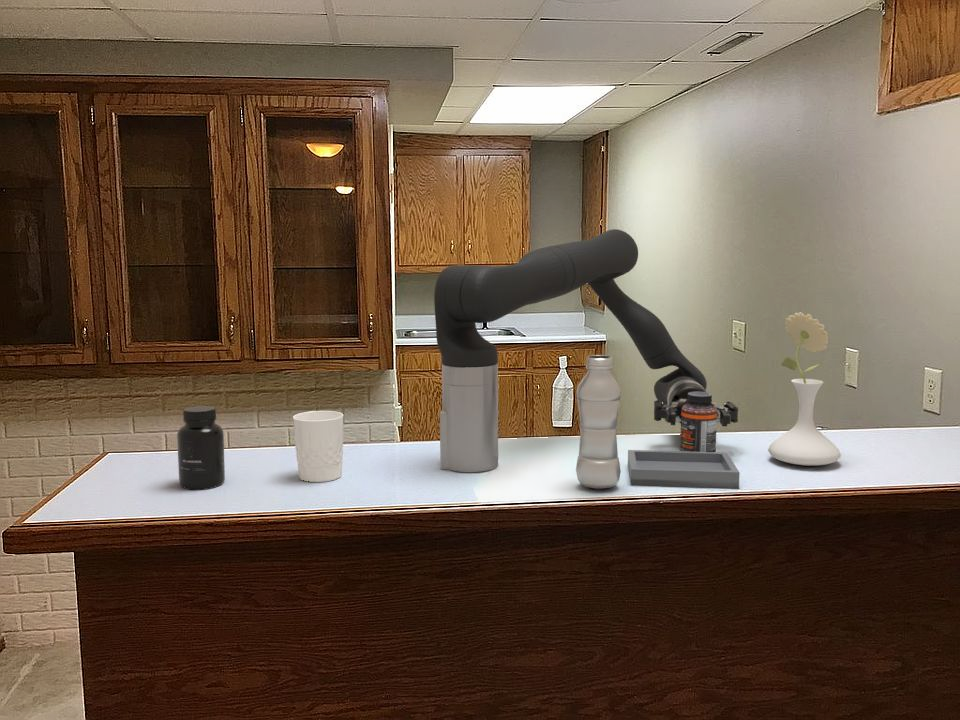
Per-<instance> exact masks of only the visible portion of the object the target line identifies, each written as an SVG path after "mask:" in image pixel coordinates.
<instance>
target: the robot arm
mask: <svg viewBox="0 0 960 720" xmlns="http://www.w3.org/2000/svg"><path fill="white" fill-rule="evenodd" d="M638 258H639V248H638V245H637V243H636V241H635V239H634V237H632V236H631V235H630V234H629V233H627V231H624V230H622V229H616V228H615V229H608V230H606V231H604V232H602V233H600V234H598V235H595V236H593V237H592V238H590V239H589V238H588V239H585V240H579V241H572V242H566V243H565V242H564V243H560V244H555V245H549V246H546V247H545V246H544V247H541V248H537V249H533V250H531V251H529V252H526V253H525V254H524V255H522V257H521V258H520V259H519V260H518V262H517V263H514V264H508V265H477V264H475V265H474V264H473V265H470V264H469V265H468V264H466V265H465V264H464V265H463V264H461V265H460V264H457V265H456V264H454V265H450V266H446V267H445V268H444V269H442V271H441V272H440V273H439V274H438V276H437V279H436V282H435V285H434V294H433V296H434V298H433V299H434V300H433V301H434V302H433V303H434V317H435V334H436V336H435V337H436V344H437V348H438V350H439V353H440V357H441V383H442V384H441V392H442V393H441V397H442V401H441V402H442V405H441V406H442V407H441V408H442V409H441V410H440V412H439V437H440V438H439V445H440V446H439V448H440V449H439V450H440V451H439V453H440V455H439V456H440V461H439V462H440V469H442V470H443V469H444V470H450V471H454V472H461V473H477V472H485V471H486V472H487V471H491V470H493V469H496V468H497V467H498V466H499V368H498V367H499V364H498V363H499V361H498V360H499V357H498V356H499V355H498V349H497V347H496V345H494V344H493V343H491V342H490V341H488V340H487V339H486V338H484V337H483V336H482V335H481V334H480V332H479V331H478V329H477V326H476V325H477V324H486V323H492V322H495V321H497V320H499V319H501V318H503V317H505V316H508V315H509V314H511V313H512V312H513V313H514V312H515V311H517V310H518V309H521V308H523V307H526V306H528V305H532V304H537V303H542V302H545V301H549V300H552V299H556V298H558V297H562V296H564V295H567V294H569V293H572V292H573V291H575V290H577V289H580V288H582V287H584V286H585V285H588V286H589V287H590V289H592V290H593V292H594V293H595V294H596V296H597V297H598V298H599V299H600V300H601V303H603V304H604V305H605V307H606V308H607V309H608V310H609V311H610V312H611V313H612V315H613V316H614V317H615V319H617V321H618V322H619V323H620V325H622V327H623V328H624V330H625V332H627V334H628V335H629V337H630V339H631V340H632V342H633V343H634V345H635V347H636V349H637V350H638V352H639V354H640V355H641V357H642V359H643V360H644V362H645V364H646V365H647V366H648V367H649V369H650V370H659V369H664V368H667V367H676V368H677V369H675V370H673V371H672V372H670V373H667V374H666V375H664V376H662V377H660V378H659V379H658V380H657V381H655V383H654V386H653V392H654V396H655V398H656V400H654V401H653V417H654V418H653V420H654V421H656V422H661V421H662V419H664V421H665V422H666V423H670V426H676V423H679V424H681V410H682V407H683V406H684V405H686V403H687V402H688V400H687V398H688V393H689V392H707V391H706V390H707V385H708V383H707V379H706V376H705V375H704V374H703V372H702V371H701V370H700V369H699V368H698V367H696V365H694V364H693V363H692V362H691V361H690V360H689V359H688V358H687V357H686V356H685V355H684V354H683V352H682V351H680V349H679V347H678V346H677V345H676V343H675V341H674V340H673V338H672V335H670V333H669V331H668V329H667V328H666V326H665V324H664V323H663V321H662V319H660V318H659V317H658V316H657V315H656V314H654V312H652V311H651V310H649V309H647V308H646V307H645V306H643V305H641V304H640V303H638V302H637V301H635V300H634V299H633V298H631V297H630V296H628V295H627V294H626V293H625V292H624V291H623V290H622V289H621V288H620V286H619V285H618V284H617V283H616V281H615V279H617V278H620V277H621V276H624V275H625V274H628V273H629V272H630V271H631V270H633V269H634V268H635V266H636V265H637V262H638V260H639V259H638ZM711 403H712V405H713V406H714V407H715V408H716V409H717V423H720V425H721V426H722V427H728V425H730V424H732V423H734V424H735V423H738V422H739V419H738V418H739V414H738V413H739V407H738V406H736V405H735V403H733V402H731V401H725V403H723V405H720V404H719V403H718V402H714V401H713V400H712V401H711Z"/></svg>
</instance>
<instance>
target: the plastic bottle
mask: <svg viewBox="0 0 960 720" xmlns="http://www.w3.org/2000/svg"><path fill="white" fill-rule="evenodd" d="M612 361H613V357H612V356H611V355H603V354H591V355H587V356H586V364H585V369H586V370H587V372H586V374H585V375H584V376H583V378H582V379H580V382H579V384H578V385H577V388H576V398H577V399H576V401H577V407H578V415H579V417H578V418H579V427H580V428H579V433H580V435H579V436H580V437H579V447H578V448H579V449H578V456H577V460H576V466H575V467H576V468H575V472H576V473H575V474H576V479H577V481H578V482H579V484H580V485H581V486H583V487H586V488H591V489H610V488H613V487H615V486H616V485H617V484H618V482H620V477H621V472H622V471H621V464H620V459H619V456H618V455H619V452H618V441H617V439H618V438H617V427H618V414H619V410H620V409H619V408H620V402H621V400H620V399H621V396H622V395H621V394H622V393H621V388H620V386H619V384H618V382H617V381H616V378H615V377H614V375H612V373H611V370H613V362H612Z"/></svg>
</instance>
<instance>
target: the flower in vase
mask: <svg viewBox="0 0 960 720" xmlns="http://www.w3.org/2000/svg"><path fill="white" fill-rule="evenodd" d="M785 321H786V322H785V323H784V325H785V328H784V330H785V331H786V333H788V337H789V338H790V339H792V341H793V343H794V344H795V345H797V347H796V352H795V359H793V358H791V357H790V356H786V357H785V358H784V359H783V361H782V362H781V364H780V366H782V367H786V368H788V369H790V370H792V371H796V370H797V369H798V371H799V373H800V375H801V378H794V379H791V381H790V382H791V383H792V385H793V386H794V388H795V390H796V395H797V398H798V417H797V421H796V422H795V425H793V427H792V428H791V429H789V430H788V431H786V432H785V433H782V434H781V435H780V436H779V437H777V438H776V439H775V440H774V441H772V442H771V443H770V444H769V446H768V448H767V452H768V454H769V455H770V456H771V457H772V458H775V459H776V460H779V461H781V462H784V463H787V464H792V465H799V466H827V465H830V464H832V463H836V462H837V461H838V460H839V459H840V458H841V457H842V455H841V452H840V450H839V448H838V447H837V446H836V444H834V443H833V442H832V441H831V440H830V439H829V438H828V437H827V436H825V435H824V434H823V433H822V432H821V431H820V430H819V429H818V428H817V427H816V425H815V423H814V406H815V400H816V396H817V393H818V392H819V390H820V388H821V387H822V385H823V384H824V381H823V380H820V379H814V378H805V375H804V373H806V372H809V371H811V370H814V369H816V368H818V366H820V365H822V363H823V361H821V362H819V363H818V364H816V365H813V366H810V367H807V368H806V369H805V370H804V371H802V369H801V366H800V364H799V360H798V359H799V357H798V355H799V352H800V348H801V349H805V350H806V351H807V352H811V353H815V354H816V353H817V352H822V351H823V350H827V349H828V346H827V345H828V343H829V333H828V332H827V331H825V329H826V327H825V325H824V324H822V323H820V321H819V319H817V318H813V316H812V314H810V313H807V314H806V315H805V314H804V313H803V312H801V311H799V312H795V313H794V314H792V315H788V317H786V318H785Z"/></svg>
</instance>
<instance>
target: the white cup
mask: <svg viewBox="0 0 960 720" xmlns="http://www.w3.org/2000/svg"><path fill="white" fill-rule="evenodd" d="M344 415H345V414H343V413H342V412H340V411H336V410H335V411H334V410H310V411H305V412H300V413H297V414H294V415H293V416H292V421H293V423H292V424H293V434H294V435H293V436H294V446H295V452H296V454H295V455H296V456H295V457H296V462H297V470H298V471H297V472H298V478H299V479H300V480H301V481H303V480H304V481H303V482H308V481H309V482H308V483H310V482H311V483H325V482H330V481H335V480H338V479H340V478H341V476H342V475H343V461H342V460H343V455H344V451H343V450H344V449H343V448H344Z"/></svg>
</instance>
